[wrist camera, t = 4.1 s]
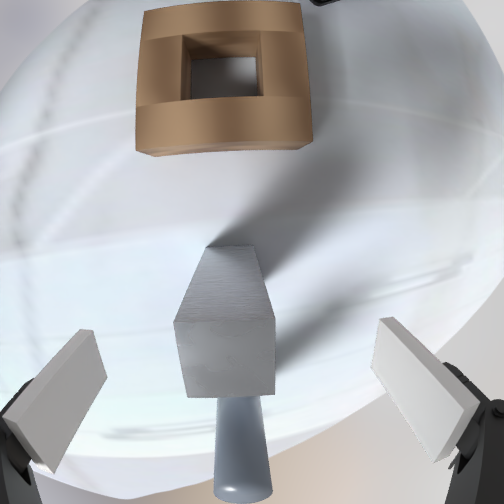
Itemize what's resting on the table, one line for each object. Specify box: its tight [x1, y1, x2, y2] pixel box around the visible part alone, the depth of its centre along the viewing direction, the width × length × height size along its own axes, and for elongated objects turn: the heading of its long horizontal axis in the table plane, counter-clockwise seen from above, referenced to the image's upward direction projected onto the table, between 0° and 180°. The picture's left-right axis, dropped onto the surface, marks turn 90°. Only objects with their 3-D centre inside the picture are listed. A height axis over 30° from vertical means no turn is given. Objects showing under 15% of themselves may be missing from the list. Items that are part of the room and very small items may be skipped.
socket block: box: [135, 1, 313, 157], centre depth 19 cm, size 12×12×5 cm
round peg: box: [214, 396, 273, 504], centre depth 21 cm, size 4×4×14 cm
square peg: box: [173, 245, 275, 398], centre depth 18 cm, size 4×4×14 cm
